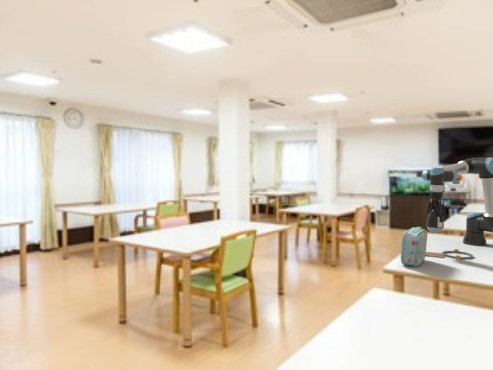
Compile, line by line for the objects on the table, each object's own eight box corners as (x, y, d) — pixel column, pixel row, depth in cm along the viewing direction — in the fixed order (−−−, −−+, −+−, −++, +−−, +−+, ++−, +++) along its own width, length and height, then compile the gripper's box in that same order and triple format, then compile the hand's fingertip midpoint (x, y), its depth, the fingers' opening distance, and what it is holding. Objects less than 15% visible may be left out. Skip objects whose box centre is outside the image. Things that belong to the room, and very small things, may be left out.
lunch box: (409, 257, 250) (410, 223, 248) (427, 259, 244) (428, 225, 242) (398, 266, 228) (399, 229, 227) (417, 269, 222) (418, 231, 221)
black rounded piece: (447, 232, 252) (448, 209, 251) (436, 234, 247) (437, 210, 246) (433, 230, 261) (434, 207, 260) (422, 231, 256) (423, 208, 255)
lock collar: (441, 250, 267) (441, 247, 267) (471, 253, 260) (471, 250, 260) (442, 258, 248) (442, 254, 247) (474, 261, 240) (474, 257, 240)
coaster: (424, 252, 262) (424, 251, 262) (443, 254, 258) (443, 253, 258) (424, 256, 252) (424, 255, 252) (443, 258, 248) (443, 257, 248)
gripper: (421, 190, 263) (420, 222, 265) (441, 193, 241) (439, 228, 242) (432, 190, 264) (431, 222, 265) (452, 192, 241) (451, 228, 243)
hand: (435, 225), depth 254 cm, fingers closed on black rounded piece, 10 cm apart
